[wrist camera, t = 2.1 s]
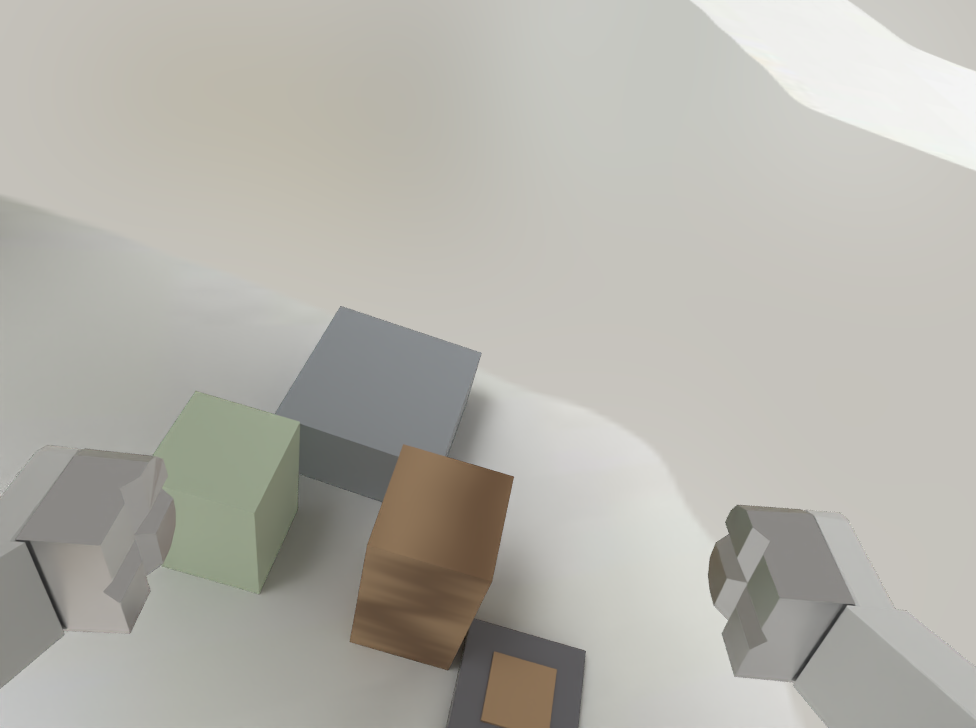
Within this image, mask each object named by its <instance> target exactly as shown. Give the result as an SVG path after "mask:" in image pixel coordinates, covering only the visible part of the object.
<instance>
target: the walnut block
mask: <svg viewBox="0 0 976 728" xmlns="http://www.w3.org/2000/svg"><path fill="white" fill-rule="evenodd" d="M513 479H514V477H513V476H510V475H507V474H503V473H500V472H496V471H493V470H490V469H486V468H483V467H479V466H476V465H473V464H469V463H466V462H463V461H459V460H456V459H452V458H449V457H446V456H442V455H439V454H435V453H432V452H429V451H425V450H422V449H418V448H415V447H412V446H408V445H405V444H403V446H402V449H401V452H400V455H399V457H398V460H397V463H396V466H395V469H394V471H393V474H392V477H391V480H390V483H389V485H388V488H387V491H386V494H385V497H384V499H383V502H382V505H381V508H380V511H379V513H378V516H377V519H376V522H375V525H374V527H373V530H372V533H371V536H370V539H369V541H368V544H367V549H366V554H365V560H364V565H363V571H362V577H361V582H360V588H359V593H358V599H357V604H356V610H355V615H354V621H353V626H352V632H351V637H350V642H352V643H355V644H359V645H362V646H365V647H369V648H372V649H376V650H379V651H383V652H386V653H390V654H393V655H397V656H400V657H404V658H407V659H411V660H414V661H417V662H421V663H424V664H428V665H431V666H435V667H438V668H442V669H445V670H449V668H450V666H451V664H452V662H453V660H454V658H455V656H456V654H457V651H458V649H459V647H460V645H461V643H462V641H463V639H464V637H465V635H466V633H467V631H468V629H469V627H470V625H471V623H472V621H473V619H474V617H475V615H476V613H477V611H478V609H479V607H480V605H481V603H482V601H483V599H484V597H485V595H486V593H487V591H488V589H489V587H490V585H491V583H492V579H493V575H494V570H495V565H496V560H497V555H498V551H499V546H500V541H501V536H502V531H503V527H504V522H505V517H506V512H507V507H508V503H509V498H510V493H511V488H512V483H513Z"/></svg>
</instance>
